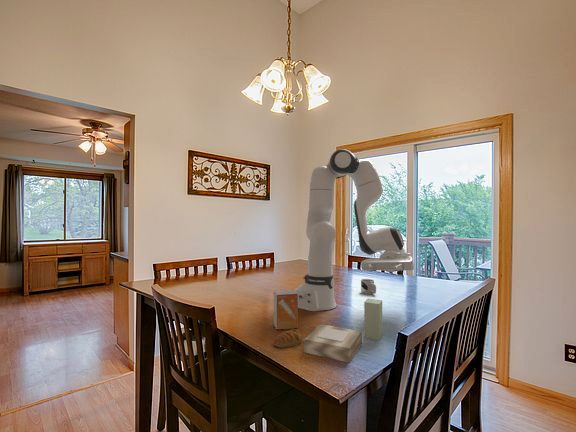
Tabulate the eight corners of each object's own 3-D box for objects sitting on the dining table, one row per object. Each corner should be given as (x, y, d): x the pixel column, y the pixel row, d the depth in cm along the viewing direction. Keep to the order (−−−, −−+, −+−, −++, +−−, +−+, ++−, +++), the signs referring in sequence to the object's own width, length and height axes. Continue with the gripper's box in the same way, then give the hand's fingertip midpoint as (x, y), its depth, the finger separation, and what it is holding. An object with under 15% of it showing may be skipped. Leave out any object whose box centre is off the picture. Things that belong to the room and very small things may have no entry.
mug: (358, 291, 163) (358, 279, 163) (368, 290, 165) (368, 278, 165) (370, 296, 153) (370, 283, 153) (380, 295, 156) (380, 282, 156)
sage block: (364, 337, 102) (364, 302, 102) (367, 332, 106) (367, 298, 106) (379, 340, 100) (379, 304, 100) (382, 334, 104) (382, 300, 104)
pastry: (282, 351, 92) (282, 339, 92) (268, 344, 97) (268, 333, 97) (304, 342, 98) (303, 331, 98) (290, 336, 103) (289, 325, 103)
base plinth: (304, 352, 91) (304, 338, 91) (321, 335, 103) (321, 323, 103) (349, 362, 85) (349, 347, 85) (361, 343, 97) (361, 330, 97)
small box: (276, 330, 108) (276, 294, 108) (273, 324, 114) (273, 290, 114) (298, 328, 110) (298, 293, 110) (294, 322, 116) (293, 289, 116)
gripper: (365, 254, 132) (355, 261, 120) (414, 252, 122) (409, 260, 110) (366, 268, 132) (357, 277, 121) (416, 268, 122) (411, 277, 110)
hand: (382, 269), depth 115 cm, fingers open, 8 cm apart
